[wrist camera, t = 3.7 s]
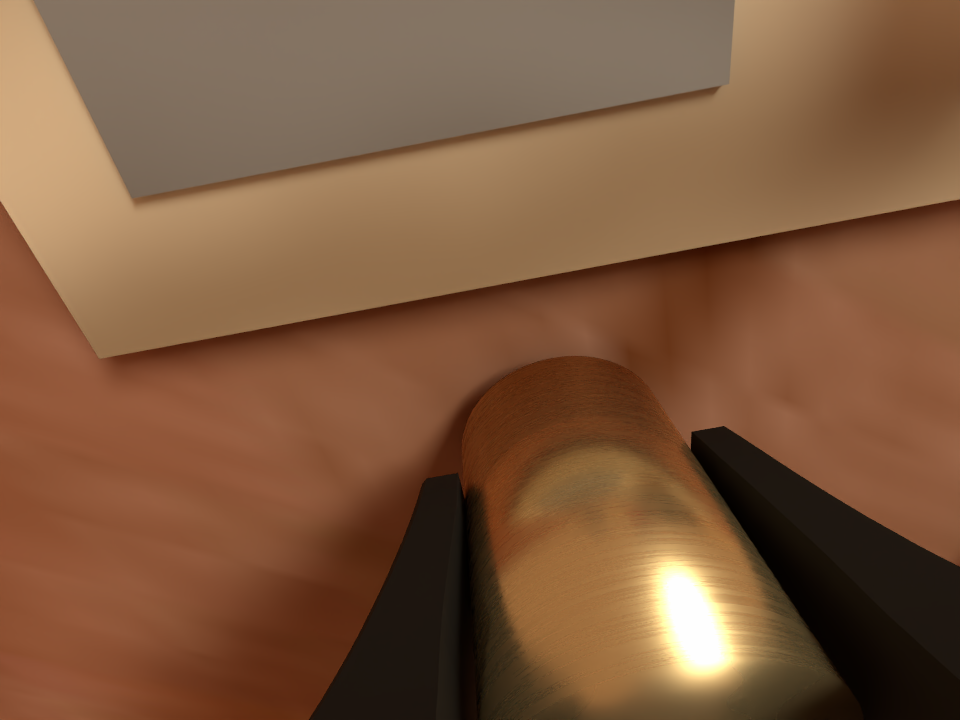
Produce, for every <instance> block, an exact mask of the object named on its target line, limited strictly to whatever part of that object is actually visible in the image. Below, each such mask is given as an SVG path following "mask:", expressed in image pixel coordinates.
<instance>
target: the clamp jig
mask: <svg viewBox="0 0 960 720" xmlns="http://www.w3.org/2000/svg"><path fill="white" fill-rule="evenodd" d="M958 199H960V0H0V201H1V202H2V204H3V206H4V207H5V209H6V210H7V212H8V214H9V215H10V217H11V218H12V220H13V222H14V223H15V225H16V226H17V228H18V230H19V231H20V233H21V234H22V236H23V238H24V239H25V241H26V242H27V244H28V246H29V247H30V249H31V250H32V252H33V254H34V255H35V257H36V258H37V260H38V262H39V263H40V265H41V266H42V268H43V270H44V271H45V273H46V274H47V276H48V278H49V279H50V281H51V282H52V284H53V286H54V287H55V289H56V290H57V292H58V294H59V295H60V297H61V298H62V300H63V302H64V303H65V305H66V306H67V308H68V310H69V311H70V313H71V314H72V316H73V318H74V319H75V321H76V322H77V324H78V326H79V327H80V329H81V330H82V332H83V334H84V335H85V337H86V338H87V340H88V342H89V343H90V345H91V346H92V348H93V350H94V351H95V353H96V354H97V356H98V357H99V359H101V358H107V357H112V356H118V355H123V354H128V353H134V352H139V351H145V350H150V349H155V348H161V347H166V346H171V345H177V344H182V343H188V342H193V341H198V340H204V339H209V338H215V337H220V336H225V335H231V334H236V333H241V332H247V331H252V330H258V329H263V328H268V327H274V326H279V325H285V324H290V323H295V322H301V321H306V320H311V319H317V318H322V317H328V316H333V315H338V314H344V313H349V312H355V311H360V310H365V309H371V308H376V307H381V306H387V305H392V304H398V303H403V302H408V301H414V300H419V299H425V298H430V297H435V296H441V295H446V294H451V293H457V292H462V291H468V290H473V289H478V288H484V287H489V286H495V285H500V284H505V283H511V282H516V281H521V280H527V279H532V278H538V277H543V276H548V275H554V274H559V273H564V272H570V271H575V270H581V269H586V268H591V267H597V266H602V265H608V264H613V263H618V262H624V261H629V260H634V259H640V258H645V257H651V256H656V255H661V254H667V253H672V252H678V251H683V250H688V249H694V248H699V247H704V246H710V245H715V244H721V243H726V242H731V241H737V240H742V239H748V238H753V237H758V236H764V235H769V234H774V233H780V232H785V231H791V230H796V229H801V228H807V227H812V226H818V225H823V224H828V223H834V222H839V221H844V220H850V219H855V218H861V217H866V216H871V215H877V214H882V213H888V212H893V211H898V210H904V209H909V208H914V207H920V206H925V205H931V204H936V203H941V202H947V201H952V200H958Z"/></svg>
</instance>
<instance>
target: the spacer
mask: <svg viewBox="0 0 960 720" xmlns="http://www.w3.org/2000/svg"><path fill="white" fill-rule="evenodd" d="M462 464H463V481H464V498H465V513H466V530H467V549H468V566H469V583H470V600H471V617H472V634H473V651H474V668H475V685H476V702H477V719H478V720H863V713H862V710H861V707H860V704H859V702H858V701H857V699H856V698H855V696H854V695H853V693H852V692H851V690H850V689H849V687H848V686H847V684H846V683H845V681H844V680H843V678H842V677H841V675H840V674H839V672H838V671H837V669H836V668H835V666H834V665H833V663H832V662H831V660H830V659H829V657H828V656H827V654H826V653H825V651H824V650H823V648H822V647H821V645H820V644H819V642H818V641H817V639H816V638H815V636H814V635H813V633H812V632H811V630H810V629H809V627H808V626H807V624H806V623H805V621H804V620H803V618H802V617H801V615H800V614H799V612H798V611H797V609H796V608H795V606H794V605H793V603H792V602H791V600H790V599H789V597H788V596H787V594H786V593H785V591H784V590H783V588H782V587H781V585H780V584H779V582H778V581H777V579H776V578H775V576H774V575H773V573H772V572H771V570H770V569H769V567H768V566H767V564H766V563H765V561H764V560H763V558H762V557H761V555H760V554H759V552H758V551H757V549H756V548H755V546H754V545H753V543H752V542H751V540H750V539H749V537H748V536H747V534H746V533H745V531H744V530H743V528H742V526H741V525H740V523H739V522H738V520H737V519H736V517H735V516H734V514H733V513H732V511H731V510H730V508H729V507H728V505H727V504H726V502H725V501H724V499H723V498H722V496H721V495H720V493H719V492H718V490H717V489H716V487H715V486H714V484H713V483H712V481H711V480H710V478H709V477H708V475H707V474H706V472H705V471H704V469H703V468H702V466H701V465H700V463H699V462H698V460H697V459H696V457H695V456H694V454H693V453H692V451H691V450H690V448H689V447H688V445H687V444H686V442H685V441H684V439H683V438H682V436H681V435H680V433H679V432H678V430H677V429H676V427H675V426H674V424H673V423H672V421H671V420H670V418H669V417H668V415H667V414H666V412H665V411H664V409H663V408H662V406H661V405H660V403H659V402H658V400H657V399H656V397H655V396H654V394H653V393H652V391H651V390H650V388H649V387H648V386H647V385H646V384H645V383H644V382H643V380H642V379H641V378H639V377H638V376H637V375H635V374H634V373H633V372H632V371H630V370H628V369H626V368H624V367H623V366H621V365H618V364H616V363H613V362H610V361H607V360H603V359H599V358H594V357H585V356H565V357H557V358H551V359H546V360H542V361H538V362H535V363H533V364H530V365H527V366H524V367H522V368H520V369H518V370H516V371H514V372H512V373H511V374H509V375H507V376H506V377H504V378H503V379H501V380H500V381H499V382H497V383H496V384H495V385H494V386H493V387H491V388H490V389H489V390H488V391H487V392H486V393H485V394H484V395H483V396H482V398H481V399H480V400H479V401H478V403H477V404H476V406H475V407H474V408H473V410H472V412H471V414H470V416H469V418H468V420H467V423H466V425H465V428H464V432H463V438H462Z"/></svg>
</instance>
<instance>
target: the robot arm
mask: <svg viewBox="0 0 960 720" xmlns="http://www.w3.org/2000/svg"><path fill="white" fill-rule="evenodd" d="M691 451H692V453H693V454H694V456H695V457H696V459H697V460H698V462H699V463H700V465H701V466H702V468H703V469H704V471H705V472H706V474H707V475H708V477H709V478H710V480H711V481H712V483H713V484H714V486H715V487H716V489H717V490H718V492H719V493H720V495H721V496H722V498H723V499H724V501H725V502H726V504H727V505H728V507H729V508H730V510H731V511H732V513H733V514H734V516H735V517H736V519H737V520H738V522H739V523H740V525H741V526H742V528H743V530H744V531H745V533H746V534H747V536H748V537H749V539H750V540H751V542H752V543H753V545H754V546H755V548H756V549H757V551H758V552H759V554H760V555H761V557H762V558H763V560H764V561H765V563H766V564H767V566H768V567H769V569H770V570H771V572H772V573H773V575H774V576H775V578H776V579H777V581H778V582H779V584H780V585H781V587H782V588H783V590H784V591H785V593H786V594H787V596H788V597H789V599H790V600H791V602H792V603H793V605H794V606H795V608H796V609H797V611H798V612H799V614H800V615H801V617H802V618H803V620H804V621H805V623H806V624H807V626H808V627H809V629H810V630H811V632H812V633H813V635H814V636H815V638H816V639H817V641H818V642H819V644H820V645H821V647H822V648H823V650H824V651H825V653H826V654H827V656H828V657H829V659H830V660H831V662H832V663H833V665H834V666H835V668H836V669H837V671H838V672H839V674H840V675H841V677H842V678H843V680H844V681H845V683H846V684H847V686H848V687H849V689H850V690H851V692H852V693H853V695H854V696H855V698H856V699H857V701H858V702H859V704H860V707H861V710H862V713H863V720H960V567H959V566H957V565H955V564H953V563H951V562H949V561H947V560H945V559H943V558H941V557H939V556H937V555H935V554H933V553H932V552H930V551H928V550H926V549H924V548H922V547H920V546H918V545H917V544H915V543H913V542H911V541H909V540H907V539H906V538H904V537H902V536H900V535H899V534H897V533H895V532H893V531H892V530H890V529H888V528H886V527H884V526H883V525H881V524H879V523H877V522H876V521H874V520H872V519H870V518H868V517H867V516H865V515H863V514H862V513H860V512H858V511H857V510H855V509H853V508H852V507H850V506H848V505H847V504H845V503H843V502H842V501H840V500H838V499H837V498H835V497H833V496H832V495H830V494H828V493H827V492H825V491H824V490H822V489H820V488H819V487H817V486H816V485H814V484H812V483H811V482H809V481H808V480H806V479H805V478H803V477H801V476H800V475H798V474H797V473H795V472H794V471H792V470H791V469H789V468H788V467H786V466H784V465H783V464H781V463H780V462H778V461H777V460H775V459H774V458H772V457H771V456H769V455H768V454H766V453H765V452H763V451H762V450H760V449H759V448H757V447H755V446H754V445H752V444H751V443H749V442H748V441H746V440H745V439H743V438H742V437H740V436H739V435H737V434H736V433H734V432H733V431H731V430H729V429H728V428H726V427H725V426H722V427H716V428H711V429H705V430H699V431H694V432H692V435H691ZM309 720H478V719H477V702H476V685H475V668H474V651H473V634H472V617H471V600H470V583H469V566H468V549H467V530H466V513H465V499H464V495H463V491H462V487H461V483H460V479H459V475H458V473H456V474H450V475H444V476H439V477H433V478H427V479H426V480H425V481H424V483H423V484H422V487H421V490H420V494H419V497H418V500H417V503H416V506H415V509H414V512H413V514H412V517H411V520H410V523H409V525H408V528H407V530H406V533H405V536H404V538H403V541H402V543H401V545H400V548H399V550H398V552H397V555H396V557H395V559H394V562H393V564H392V566H391V569H390V571H389V573H388V576H387V578H386V580H385V582H384V585H383V587H382V589H381V591H380V593H379V595H378V597H377V599H376V601H375V603H374V605H373V607H372V609H371V611H370V613H369V615H368V617H367V619H366V621H365V623H364V625H363V627H362V629H361V631H360V633H359V635H358V637H357V639H356V640H355V642H354V644H353V646H352V648H351V650H350V652H349V653H348V655H347V657H346V659H345V661H344V662H343V664H342V666H341V668H340V669H339V671H338V673H337V674H336V676H335V678H334V680H333V681H332V683H331V685H330V686H329V688H328V690H327V691H326V693H325V695H324V696H323V698H322V700H321V701H320V703H319V704H318V706H317V708H316V709H315V711H314V712H313V714H312V715H311V717H310V719H309Z"/></svg>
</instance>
